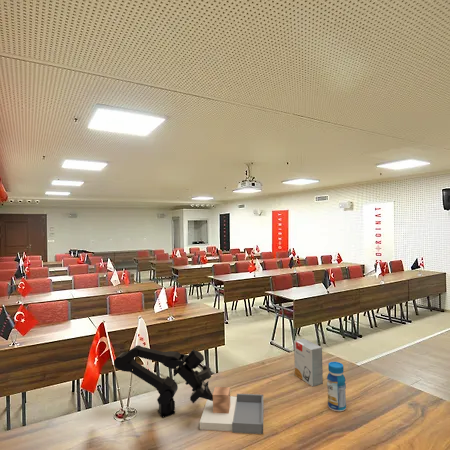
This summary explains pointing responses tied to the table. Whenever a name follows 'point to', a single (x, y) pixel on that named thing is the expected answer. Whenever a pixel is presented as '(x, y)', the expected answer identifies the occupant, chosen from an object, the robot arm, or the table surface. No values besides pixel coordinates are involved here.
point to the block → (221, 400)
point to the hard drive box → (308, 362)
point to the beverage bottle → (336, 387)
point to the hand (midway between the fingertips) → (213, 399)
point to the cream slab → (218, 417)
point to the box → (248, 414)
